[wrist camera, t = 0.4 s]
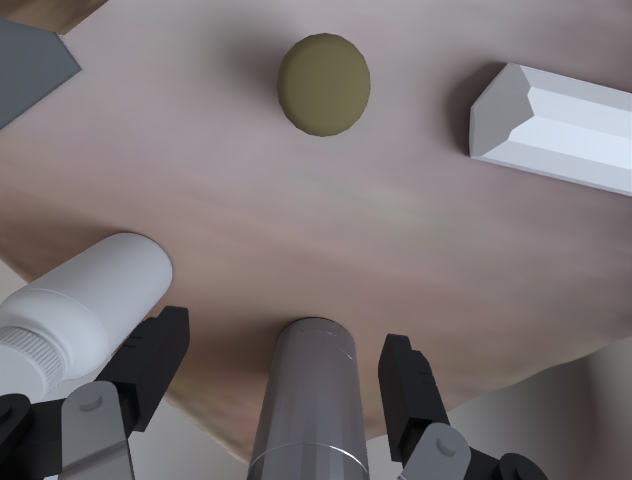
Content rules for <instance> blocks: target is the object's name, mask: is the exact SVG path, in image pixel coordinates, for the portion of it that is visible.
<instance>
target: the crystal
mask: <svg viewBox="0 0 632 480" xmlns="http://www.w3.org/2000/svg"><path fill="white" fill-rule="evenodd" d="M469 149H470V158H473V159H477V160H481V161H485V162H489V163H494V164H498V165H502V166H506V167H510V168H515V169H519V170H523V171H527V172H531V173H536V174H540V175H544V176H548V177H552V178H557V179H561V180H565V181H569V182H573V183H578V184H582V185H586V186H590V187H594V188H599V189H603V190H607V191H611V192H615V193H619V194H624V195H628V196H632V93H628V92H624V91H620V90H616V89H612V88H608V87H604V86H601V85H597V84H593V83H589V82H585V81H581V80H577V79H573V78H569V77H566V76H562V75H558V74H554V73H550V72H546V71H542V70H538V69H534V68H530V67H527V66H523V65H519V64H515V63H510V62H509V63H508V64H507V65H506V66H505V67H504V68H503V69H502V70H501V71H500V73H499V74H498V75H497V76H496V77H495V78H494V79H493V80H492V81H491V83H490V84H489V85H488V86H487V88H486V89H485V90H484V91H483V93H482V94H481V95H480V96H479V98H478V99H477V100H476V102H475V103H474V104H473V105H472V107H471V112H470V129H469Z"/></svg>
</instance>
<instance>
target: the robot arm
mask: <svg viewBox="0 0 632 480" xmlns="http://www.w3.org/2000/svg"><path fill="white" fill-rule="evenodd" d="M189 340H190V332H189V316H188V309H187V308H183V307H176V306H166V307H165V308H164V309H163V310H162V312H161V313H160V315H159V316H158V317H157V318H155V317H149V318H148V319H146V320H145V321H143V322H142V323H140V324H139V325H137V327H136V328H135V329H134V331H133V332H132V333H131V334H130V336H129V338H127V339H126V341H125V342H124V343H123V345H122V347H120V348H119V350H118V351H117V352H116V353H115V355H114V356H113V357H112V359H111V360H110V361H109V362H108V364H107V365H106V366H105V367H104V369H103V370H102V371H101V373H100V374H99V375H98V376H97V378H96V379H95V380H94V381H93V382H90V383H87V384H85V385H83V386H81V387H79V388H77V389H76V390H74V392H72V393H71V394H70V395H69V396H68V397H67V398H64V399H59V400H53V401H47V402H40V403H34V404H31V402H30V399H29V398H28V397H27V396H26V395H24V394H20V393H11V394H5V395H2V396H0V480H43V479H44V478H45V477H49V476H54V475H58V474H59V475H58V480H135V476H134V471H133V465H132V460H131V454H130V449H129V443H128V438H129V436H130V434H131V433H132V431H139V432H144V431H145V429H146V427H147V426H148V424H149V422H150V420H151V418H152V416H153V414H154V412H155V410H156V408H157V407H158V405H159V403H160V401H161V399H162V397H163V395H164V393H165V392H166V390H167V388H168V386H169V384H170V382H171V380H172V378H173V376H174V375H175V373H176V371H177V369H178V367H179V365H180V363H181V361H182V359H183V358H184V356H185V354H186V352H187V349H188V346H189ZM378 378H379V384H380V390H381V397H382V403H383V409H384V416H385V422H386V428H387V434H388V440H389V446H390V453H391V460H392V461H395V462H402V466H403V471H402V473H401V475H400V476H399V477H398V478H397V480H548V478H547V477H546V475H545V474H544V473H543V472H542V470H541V469H540V468H539V467H538V466H537V465H536V464H534V463H533V462H532V461H531V460H529V459H527V458H526V457H524V456H522V455H519V454H516V453H507V454H505V455H504V456H502V457H501V459H500V460H498V459H495V458H493V457H491V456H489V455H486V454H484V453H482V452H480V451H477V450H475V449H473V448H471V447H470V446H469V445H468V443H467V441H466V440H465V438H464V437H463V436H462V435H461V434H460V433H459V432H458V431H457V430H456V429H454V428H453V427H451V425H450V423H449V420H448V417H447V414H446V411H445V409H444V406H443V403H442V400H441V397H440V394H439V391H438V388H437V386H436V382H435V379H434V377H433V376H432V371H431V368H430V365H429V362H428V361H427V360H426V358H425V357H424V356H423V354H422V353H421V352H420V351H416V350H412V348H411V345H410V341H409V338H408V337H407V336H404V335H396V334H388V335H387V337H386V340H385V343H384V346H383V350H382V353H381V356H380V360H379V365H378ZM246 480H370V476H369V467H368V458H367V449H366V440H365V431H364V422H363V413H362V404H361V395H360V386H359V376H358V366H357V358H356V349H355V343H354V341H353V339H352V337H351V335H350V334H349V333H348V331H347V330H345V329H344V328H343V327H342V326H340V325H339V324H337V323H335V322H333V321H330V320H326V319H320V318H307V319H303V320H299V321H296V322H294V323H292V324H290V325H289V326H288V327H286V328H285V329H284V330H283V331H282V332H281V333H280V335H279V337H278V339H277V342H276V346H275V351H274V355H273V360H272V364H271V368H270V373H269V377H268V382H267V386H266V391H265V396H264V400H263V405H262V409H261V414H260V419H259V423H258V428H257V432H256V437H255V442H254V446H253V451H252V455H251V460H250V464H249V469H248V475H247V479H246Z"/></svg>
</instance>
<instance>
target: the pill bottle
mask: <svg viewBox="0 0 632 480" xmlns="http://www.w3.org/2000/svg"><path fill="white" fill-rule="evenodd" d="M171 281H172V266H171V263H170V260H169V258H168V256H167V255H166V253H165V252H164V251H163V249H162V248H161V247H160V246H159V245H158V244H156V243H155V242H154V241H152V240H150V239H149V238H147V237H145V236H142V235H139V234H135V233H118V234H114V235H112V236H109V237H107V238H105V239H103V240H101V241H100V242H98V243H96V244H95V245H93V246H91V247H90V248H88V249H86V250H85V251H83V252H81V253H80V254H78V255H76V256H75V257H73V258H71V259H70V260H68V261H66V262H65V263H63V264H61V265H60V266H58V267H56V268H54V269H53V270H51V271H49V272H48V273H46V274H44V275H43V276H41V277H39V278H38V279H36V280H34V281H33V282H31V283H29V284H28V285H26V286H24V287H23V288H21V289H19V290H18V291H16V292H14V293H13V294H12V295H10V296H9V297H8V298H7V299H6V300H5V301H4V302H3V303H2V304H1V306H0V396H2V395H5V394H11V393H20V394H24V395H26V396H27V397H28V398H29V399H30V402H31V404H34V403H37V402H38V401H40V400H42V399H43V398H44V397H45V396H46V395H47V394H48V393H49V392H50V391H51V390H52V389H53V388H54V387H55V386H56V385H57V384H58V383H59V382H61V381H62V380H73V379H77V378H80V377H83V376H85V375H87V374H89V373H91V372H93V371H94V370H96V369H97V368H99V367H100V366H101V365H102V364H103V363H104V362H105V361H106V360H107V358H108V357H109V356H110V355H111V354H112V353H113V352H114V351H115V349H116V348H117V347H118V346H119V345H120V344H121V343H122V342H123V340H124V339H125V338H126V337H127V336H128V335H129V334H130V332H131V331H132V330H133V329H134V328H135V327H136V326H137V324H138V323H139V322H140V321H141V320H142V319H143V318H144V317H145V315H146V314H147V313H148V312H149V311H150V310H151V309H152V307H153V306H154V305H155V304H156V303H157V302H158V301H159V299H160V298H161V297H162V296H163V295H164V294H165V292H166V291H167V289H168V288H169V286H170V284H171Z"/></svg>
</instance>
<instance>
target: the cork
mask: <svg viewBox="0 0 632 480" xmlns="http://www.w3.org/2000/svg"><path fill="white" fill-rule="evenodd" d="M370 89H371V88H370V73H369V70H368V67H367V65H366V62H365V59H364V57H363V56H362V54H361V53H360V52H359V51H358V49H357V48H356V47H355V46H354V44H352V43H351V42H349V41H347V40H346V39H344V38H343V37H341V36H338V35H333V34H328V33H322V34H316V35H310V36H308V37H306V38H304V39H303V40H301V41H299V42H298V43H296V44H295V45H294V46H293V47H292V48H291V50H290V51H289V52H288V53H287V54H286V55H285V57H284V60H283V62H282V64H281V67H280V69H279V73H278V81H277V91H278V97H279V103H280V105H281V107H282V109H283V111H284V113H285V115H286V117H287V118H288V119H289V120H290V121H291V122H292V123H293V124H294V125H295V127H296V128H298V129H300V130H302V131H304V132H305V133H307V134H310V135H315V136H320V137H325V136H332V135H337V134H339V133H341V132H343V131H345V130H347V129H349V128H350V127H351V126H352V125H353V124H354V123H355V122H356V121H357V120H358V119H359V118H360V116H361V115H362V113H363V111H364V109H365V107H366V106H367V103H368V98H369V94H370Z"/></svg>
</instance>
